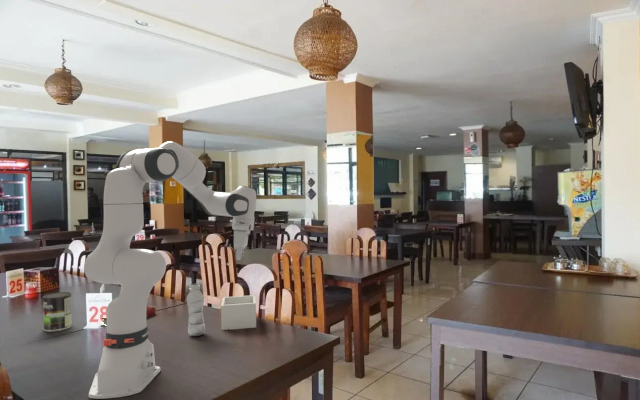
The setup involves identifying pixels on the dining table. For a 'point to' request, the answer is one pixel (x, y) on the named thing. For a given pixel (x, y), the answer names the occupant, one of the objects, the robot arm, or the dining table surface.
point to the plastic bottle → (195, 311)
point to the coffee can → (57, 311)
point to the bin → (238, 312)
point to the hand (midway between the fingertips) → (239, 258)
